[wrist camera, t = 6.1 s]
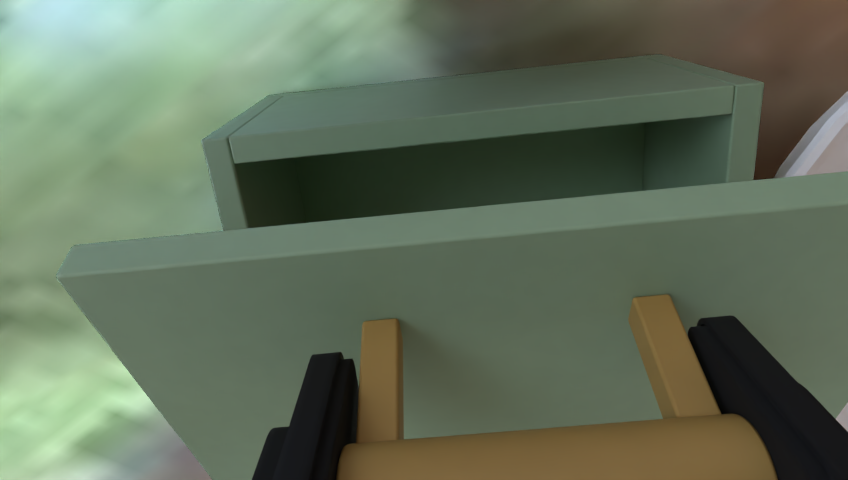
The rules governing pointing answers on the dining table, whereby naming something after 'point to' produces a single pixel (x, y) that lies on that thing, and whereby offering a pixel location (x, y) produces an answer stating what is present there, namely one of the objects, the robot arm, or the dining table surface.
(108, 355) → the dining table surface
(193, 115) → the dining table surface
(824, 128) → the bowl
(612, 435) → the lid
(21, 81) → the dining table surface
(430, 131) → the storage box
